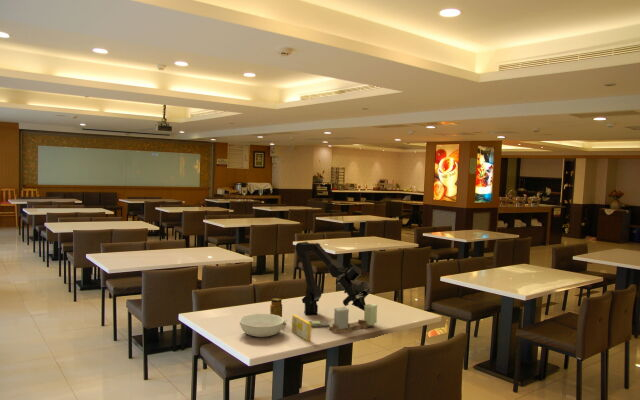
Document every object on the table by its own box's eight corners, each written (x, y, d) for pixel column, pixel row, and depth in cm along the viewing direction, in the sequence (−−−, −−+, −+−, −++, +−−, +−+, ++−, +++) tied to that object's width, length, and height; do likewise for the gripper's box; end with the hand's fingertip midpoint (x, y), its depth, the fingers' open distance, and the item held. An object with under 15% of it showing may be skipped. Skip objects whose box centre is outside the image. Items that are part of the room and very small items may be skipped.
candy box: (311, 341, 221) (311, 323, 221) (307, 341, 220) (307, 323, 220) (295, 330, 235) (295, 313, 235) (291, 331, 234) (291, 314, 234)
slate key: (333, 327, 236) (334, 308, 236) (343, 325, 239) (344, 307, 238) (338, 329, 232) (338, 310, 232) (348, 327, 235) (348, 309, 235)
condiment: (270, 320, 251) (270, 297, 251) (286, 320, 251) (287, 297, 251) (268, 324, 244) (269, 300, 244) (285, 324, 244) (285, 301, 244)
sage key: (363, 323, 242) (364, 305, 242) (369, 321, 247) (369, 303, 246) (371, 325, 240) (371, 307, 239) (376, 322, 244) (377, 304, 244)
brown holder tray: (338, 334, 230) (338, 327, 230) (327, 329, 237) (327, 322, 237) (376, 325, 245) (376, 318, 245) (364, 321, 252) (365, 314, 252)
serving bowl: (250, 344, 215) (250, 329, 215) (232, 331, 233) (232, 316, 233) (291, 336, 226) (292, 322, 226) (271, 324, 244) (271, 311, 244)
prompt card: (309, 327, 240) (310, 324, 240) (307, 323, 247) (307, 320, 247) (329, 327, 242) (329, 323, 242) (327, 322, 249) (327, 319, 249)
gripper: (348, 279, 239) (367, 305, 233) (367, 273, 254) (385, 298, 248) (334, 293, 244) (353, 318, 238) (354, 286, 259) (371, 310, 253)
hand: (366, 311), depth 244 cm, fingers closed
